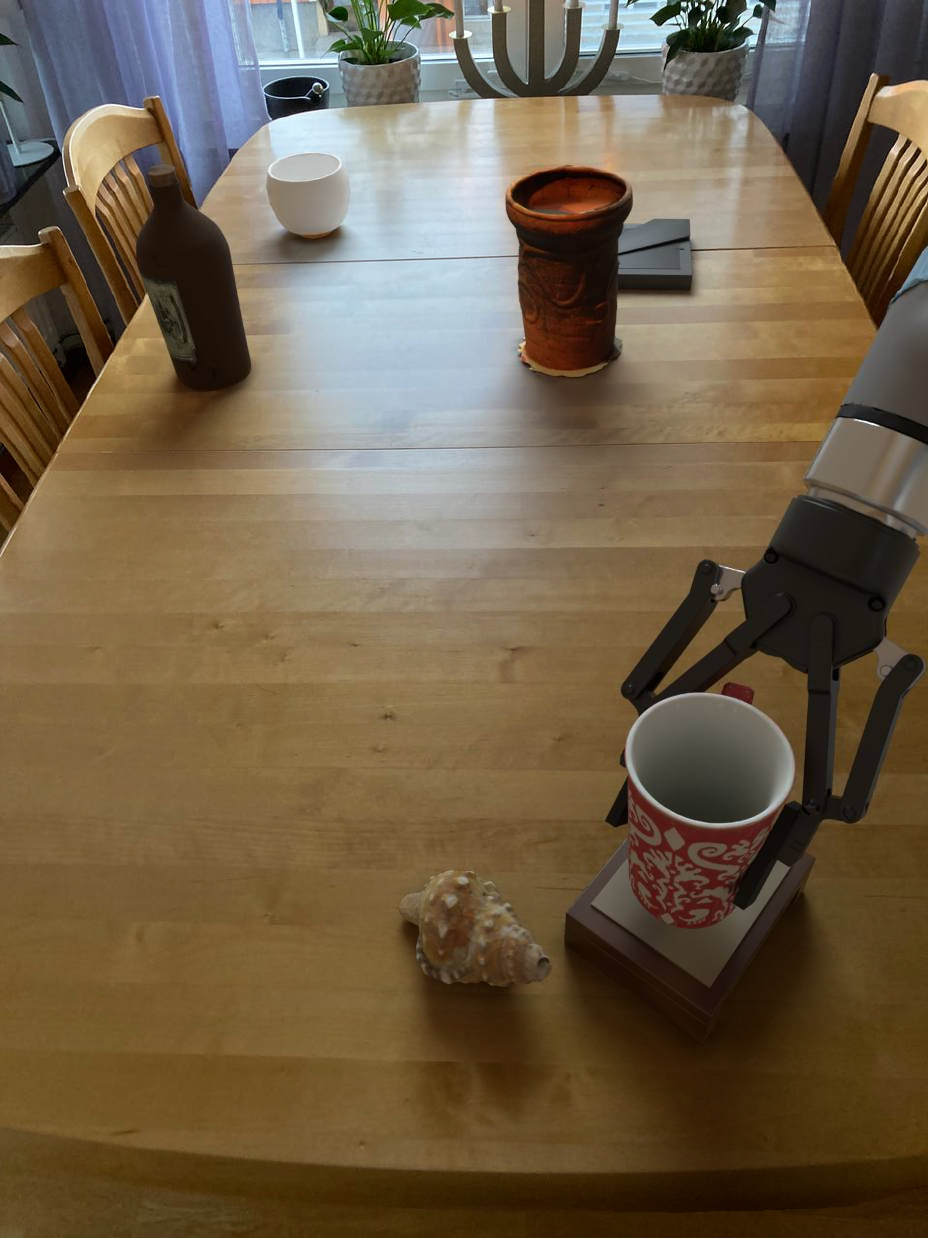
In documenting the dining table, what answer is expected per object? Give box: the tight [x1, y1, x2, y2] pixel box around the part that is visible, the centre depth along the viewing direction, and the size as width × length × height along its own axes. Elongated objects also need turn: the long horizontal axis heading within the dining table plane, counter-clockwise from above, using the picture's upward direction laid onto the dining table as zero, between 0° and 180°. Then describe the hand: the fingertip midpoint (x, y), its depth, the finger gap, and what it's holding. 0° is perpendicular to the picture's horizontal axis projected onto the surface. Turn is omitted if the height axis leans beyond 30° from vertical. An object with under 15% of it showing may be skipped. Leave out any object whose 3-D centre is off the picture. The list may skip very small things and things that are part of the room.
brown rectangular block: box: [563, 832, 816, 1045], centre depth 67 cm, size 11×14×5 cm
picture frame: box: [618, 218, 693, 291], centre depth 137 cm, size 16×3×21 cm
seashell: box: [398, 869, 553, 988], centre depth 66 cm, size 9×8×10 cm
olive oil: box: [135, 163, 252, 392], centre depth 114 cm, size 11×11×25 cm
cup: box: [265, 151, 352, 240], centre depth 147 cm, size 12×12×10 cm
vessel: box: [504, 164, 634, 378], centre depth 115 cm, size 14×14×20 cm
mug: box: [624, 681, 797, 929], centre depth 58 cm, size 13×9×14 cm
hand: (678, 860), depth 58 cm, fingers closed on mug, 8 cm apart
